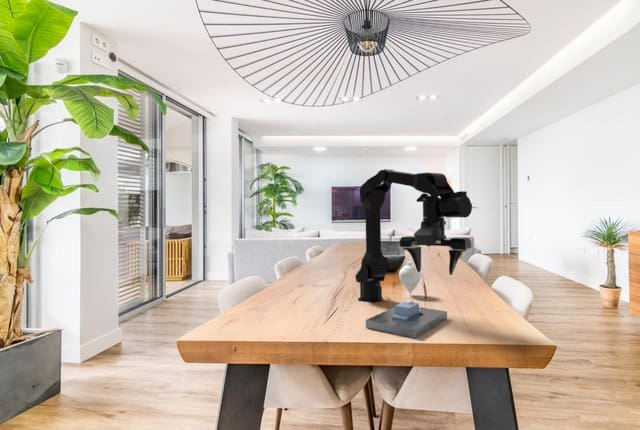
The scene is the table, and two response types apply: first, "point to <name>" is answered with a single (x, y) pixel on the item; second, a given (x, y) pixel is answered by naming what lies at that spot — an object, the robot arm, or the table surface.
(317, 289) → the table surface
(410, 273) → the spinning top
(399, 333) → the chassis plate
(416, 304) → the servo
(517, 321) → the table surface
